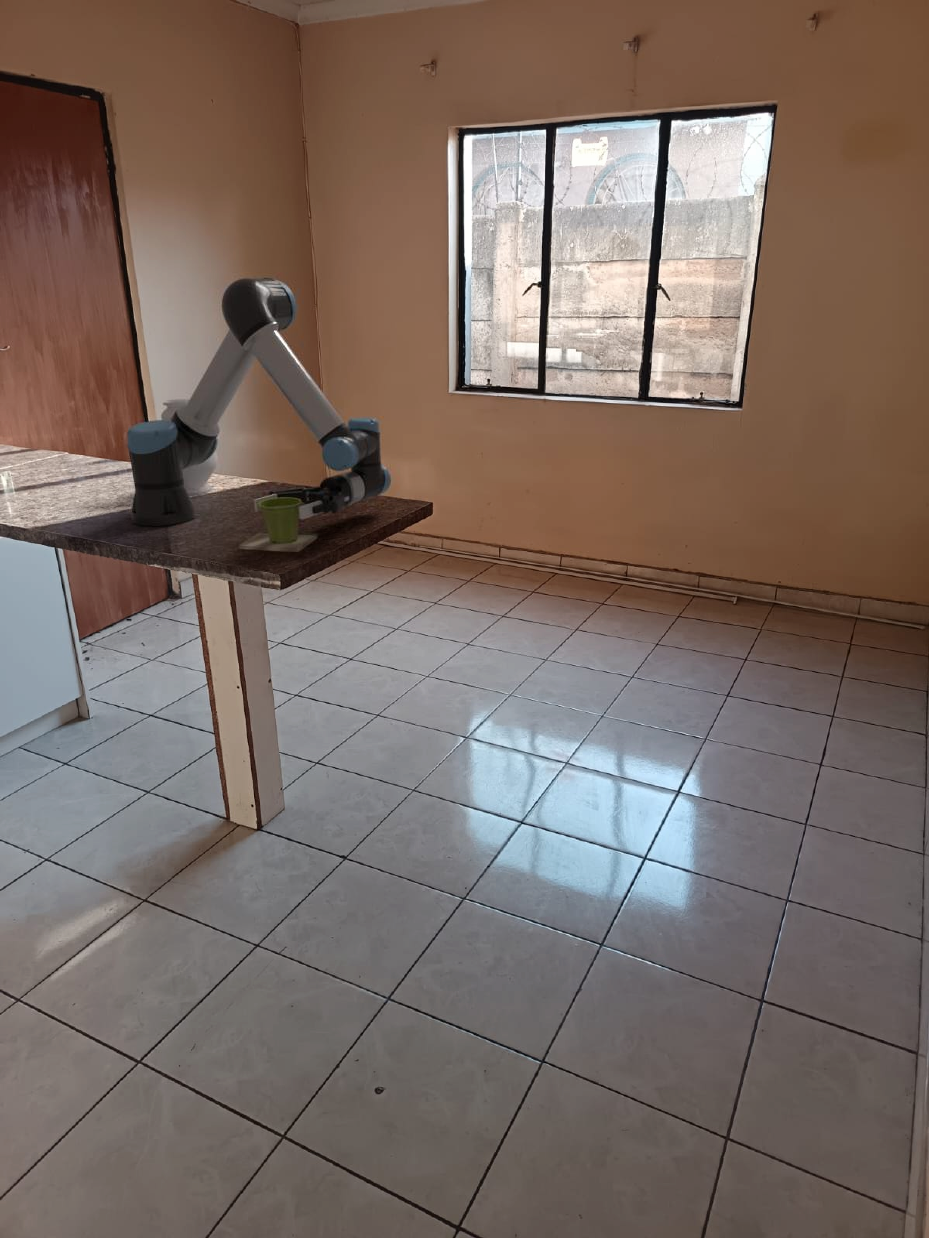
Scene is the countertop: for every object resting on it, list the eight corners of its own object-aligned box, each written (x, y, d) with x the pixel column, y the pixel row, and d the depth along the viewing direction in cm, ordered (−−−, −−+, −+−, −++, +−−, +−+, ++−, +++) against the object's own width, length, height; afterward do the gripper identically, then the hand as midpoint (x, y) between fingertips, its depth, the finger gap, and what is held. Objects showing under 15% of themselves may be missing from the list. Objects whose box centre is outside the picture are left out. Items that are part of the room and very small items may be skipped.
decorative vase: (207, 481, 258) (197, 395, 249) (231, 491, 244) (220, 401, 235) (147, 490, 248) (134, 401, 239) (168, 501, 235) (155, 407, 225)
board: (238, 549, 191) (238, 545, 190) (262, 534, 202) (262, 530, 201) (298, 552, 188) (297, 548, 187) (318, 537, 199) (318, 533, 198)
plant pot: (263, 547, 189) (259, 508, 185) (261, 536, 197) (257, 499, 194) (306, 543, 191) (303, 505, 188) (302, 532, 199) (299, 495, 196)
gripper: (383, 512, 202) (321, 533, 185) (303, 499, 215) (239, 518, 198) (381, 480, 199) (318, 499, 182) (301, 469, 212) (236, 486, 195)
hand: (277, 509), depth 190 cm, fingers open, 13 cm apart
